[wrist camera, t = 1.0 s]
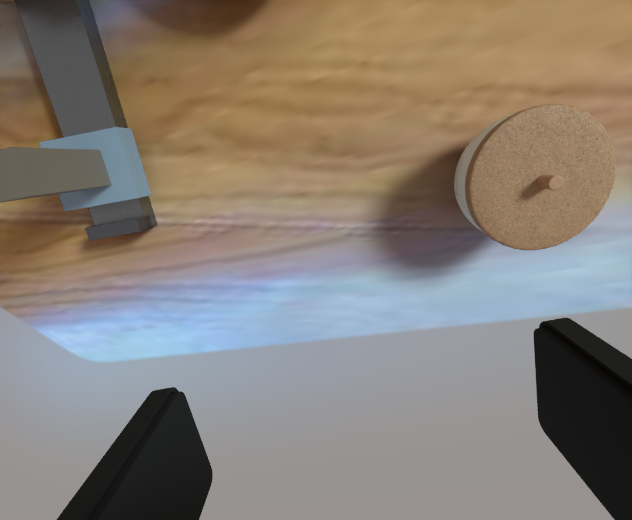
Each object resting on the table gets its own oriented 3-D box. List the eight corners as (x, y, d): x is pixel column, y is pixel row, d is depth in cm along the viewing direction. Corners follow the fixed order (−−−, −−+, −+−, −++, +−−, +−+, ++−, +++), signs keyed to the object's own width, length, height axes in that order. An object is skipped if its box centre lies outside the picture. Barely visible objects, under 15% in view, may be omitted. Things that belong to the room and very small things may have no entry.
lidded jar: (478, 252, 36) (529, 284, 27) (415, 169, 34) (448, 174, 25) (574, 181, 34) (664, 191, 25) (513, 88, 32) (587, 62, 23)
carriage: (59, 143, 33) (-75, 137, 22) (131, 129, 32) (31, 115, 21) (82, 207, 34) (-32, 231, 23) (151, 195, 34) (68, 213, 23)
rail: (29, -3, 31) (-6, -22, 27) (84, -15, 30) (55, -36, 27) (110, 233, 36) (89, 240, 33) (157, 224, 36) (140, 231, 33)
